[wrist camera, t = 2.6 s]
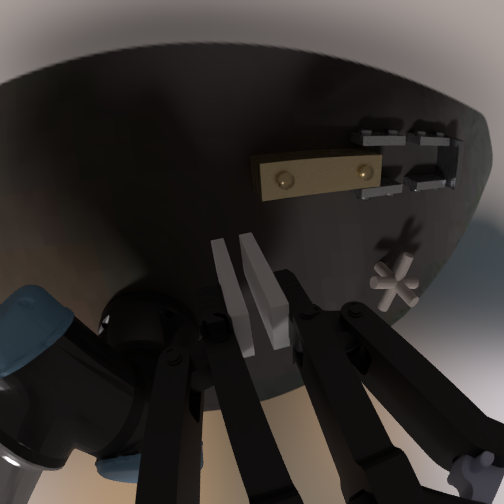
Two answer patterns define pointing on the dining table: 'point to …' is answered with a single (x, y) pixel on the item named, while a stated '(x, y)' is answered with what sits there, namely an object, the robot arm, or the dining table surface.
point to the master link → (314, 172)
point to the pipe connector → (395, 282)
